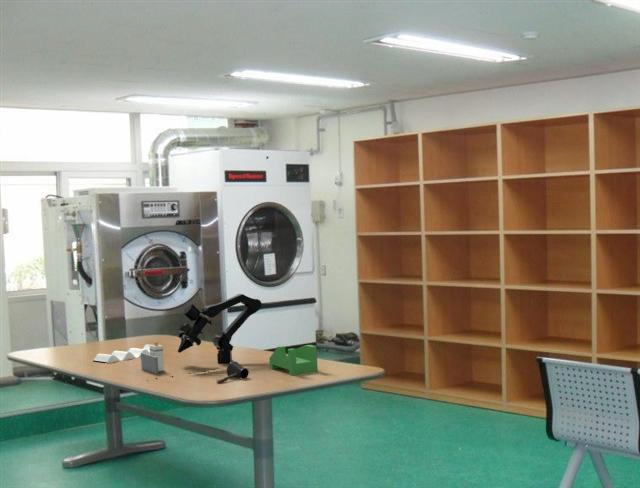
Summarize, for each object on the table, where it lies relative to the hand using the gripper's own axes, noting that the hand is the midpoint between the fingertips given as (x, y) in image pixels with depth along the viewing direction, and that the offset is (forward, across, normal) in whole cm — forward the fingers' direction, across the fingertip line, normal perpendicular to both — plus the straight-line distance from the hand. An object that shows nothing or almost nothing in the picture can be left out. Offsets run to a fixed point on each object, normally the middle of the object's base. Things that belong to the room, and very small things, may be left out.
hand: (178, 352), depth 416 cm
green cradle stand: (-20, +46, +34) cm, 61 cm away
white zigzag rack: (+12, -60, +2) cm, 61 cm away
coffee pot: (+2, +45, +10) cm, 46 cm away
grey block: (+12, 0, 0) cm, 12 cm away
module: (+13, 0, -3) cm, 13 cm away
